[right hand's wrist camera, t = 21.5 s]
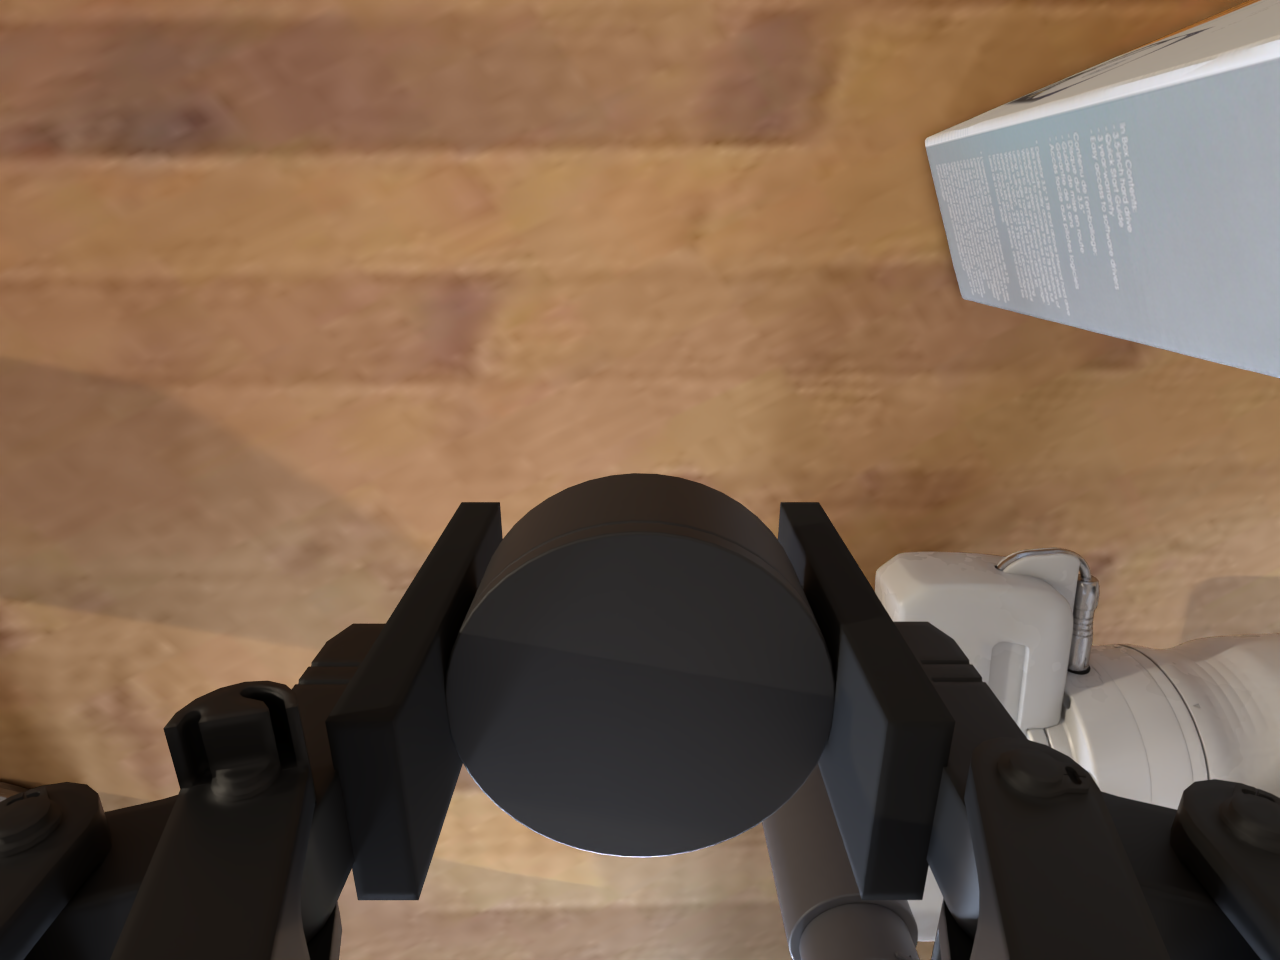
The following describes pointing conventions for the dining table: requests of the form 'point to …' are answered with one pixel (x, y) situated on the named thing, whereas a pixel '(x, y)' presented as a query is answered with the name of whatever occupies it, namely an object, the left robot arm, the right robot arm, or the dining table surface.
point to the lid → (640, 670)
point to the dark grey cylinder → (829, 887)
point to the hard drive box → (1133, 195)
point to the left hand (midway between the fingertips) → (780, 765)
